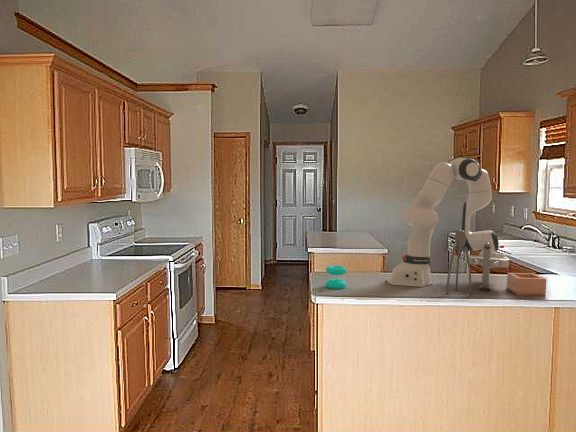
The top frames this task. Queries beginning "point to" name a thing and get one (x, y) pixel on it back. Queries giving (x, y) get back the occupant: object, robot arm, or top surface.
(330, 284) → the donuts
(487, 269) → the pepper mill
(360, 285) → the top surface
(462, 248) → the juicer
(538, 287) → the orange open box
